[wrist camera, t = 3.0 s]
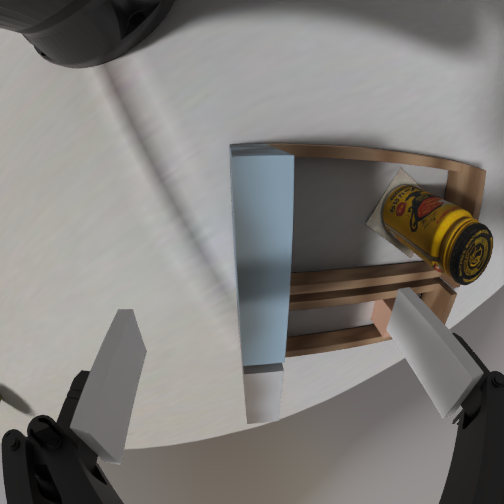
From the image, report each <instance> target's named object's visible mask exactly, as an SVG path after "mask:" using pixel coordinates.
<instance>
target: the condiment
mask: <svg viewBox="0 0 504 504" xmlns="http://www.w3.org/2000/svg"><path fill="white" fill-rule="evenodd" d="M365 225H367V226H368V227H370V228H371V229H372V230H374V231H375V232H377V233H378V234H379V235H381V236H382V237H383V238H385V239H386V240H388V241H389V242H390V243H392V244H393V245H394V246H396V247H397V248H398V249H399V250H401V251H402V252H403V253H405V254H406V255H407V256H409V257H410V258H411V257H412V255H413V253H415V254H416V255H418V256H419V257H420V258H421V259H423V260H424V261H425V262H426V263H427V264H429V265H430V266H431V267H432V268H433V269H435V270H436V271H438V272H440V273H444V274H445V273H446V274H447V275H448V276H449V277H452V278H453V279H454V281H455V282H457V283H459V284H461V285H468V284H470V283H472V282H474V281H475V280H477V279H478V277H479V276H480V275H481V274H482V273H483V272H484V270H485V268H486V267H487V264H488V262H489V260H490V258H491V254H492V249H493V236H492V233H491V232H490V230H489V229H488V227H487V226H485V225H484V224H481V223H479V222H478V221H477V220H476V219H474V218H473V217H472V215H471V214H470V213H469V212H468V211H466V210H465V209H463V208H460V207H459V206H456V205H455V204H453V203H450V202H448V201H446V200H444V199H442V198H440V197H438V196H435V195H433V194H431V193H429V192H426V191H424V190H423V189H422V188H421V187H420V186H419V185H418V184H417V183H416V182H415V181H414V180H413V179H412V178H411V177H410V176H409V175H408V174H407V173H406V172H405V171H404V170H403V169H402V168H400V169H399V171H398V173H397V174H396V176H395V177H394V179H393V181H392V182H391V184H390V185H389V187H388V189H387V190H386V192H385V193H384V195H383V197H382V198H381V200H380V202H379V203H378V205H377V206H376V208H375V210H374V212H373V213H372V215H371V216H370V218H369V219H368V221H367V222H366V224H365Z"/></svg>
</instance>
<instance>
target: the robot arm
mask: <svg viewBox="0 0 504 504" xmlns="http://www.w3.org/2000/svg"><path fill="white" fill-rule="evenodd" d="M173 2H174V0H0V28H3V29H7V30H11V31H15V32H18V33H22V35H23V36H24V37H25V38H26V39H27V40H28V41H29V42H30V43H31V44H33V45H34V48H35V49H36V51H37V52H38V53H39V54H40V55H41V56H42V57H43V58H44V59H45V60H47V61H49V62H51V63H54V64H57V65H61V66H64V67H69V68H86V67H92V66H96V65H99V64H102V63H105V62H107V61H110V60H112V59H114V58H116V57H118V56H120V55H122V54H124V53H125V52H127V51H128V50H130V49H131V48H133V47H134V46H136V45H137V44H138V43H140V42H141V41H142V40H143V39H145V38H146V37H147V36H148V35H149V34H150V33H151V32H152V31H153V30H154V29H155V28H156V27H157V26H158V25H159V24H160V22H161V21H162V20H163V19H164V17H165V16H166V15H167V13H168V12H169V10H170V8H171V6H172V4H173ZM386 330H387V331H388V333H389V334H390V336H391V337H392V339H393V340H394V342H395V343H396V345H397V346H398V348H399V349H400V351H401V352H402V354H403V355H404V357H405V358H406V360H407V361H408V363H409V364H410V366H411V367H412V369H413V371H414V372H415V374H416V375H417V377H418V379H419V380H420V382H421V383H422V385H423V387H424V388H425V390H426V391H427V393H428V395H429V397H430V398H431V400H432V402H433V403H434V405H435V406H436V408H437V410H438V412H439V413H440V415H441V417H442V419H444V418H445V417H447V416H449V415H451V414H453V413H455V411H456V410H457V409H458V408H459V406H460V405H461V406H462V408H463V409H462V411H461V412H460V413H459V414H458V415H457V417H456V418H455V419H454V420H453V423H452V424H455V422H456V421H457V420H458V419H459V422H458V423H457V425H458V431H457V437H456V442H455V447H454V452H453V457H452V461H451V465H450V469H449V473H448V477H447V480H446V483H445V487H444V490H443V493H442V496H441V499H440V502H439V504H504V375H503V374H502V373H500V372H498V371H492V372H490V371H489V370H488V369H487V368H486V366H485V365H484V364H483V363H482V361H481V360H480V359H479V358H478V356H477V355H476V354H475V353H474V352H473V350H472V349H471V348H470V347H469V346H468V344H467V343H466V342H465V341H464V340H463V339H462V338H461V337H460V336H458V335H457V334H455V333H451V332H450V331H449V330H448V328H447V327H446V326H445V325H444V324H443V323H442V322H441V320H440V319H439V318H438V317H437V316H436V315H435V314H434V313H433V312H432V311H431V309H430V308H429V307H428V306H427V305H426V304H425V303H424V302H423V301H422V300H421V299H420V298H419V297H418V296H417V295H416V293H415V292H414V291H413V290H412V289H411V288H410V287H408V288H401V289H398V292H397V296H396V300H395V303H394V307H393V310H392V313H391V316H390V320H389V323H388V326H387V329H386ZM146 352H147V351H146V348H145V345H144V342H143V340H142V337H141V334H140V331H139V328H138V325H137V321H136V318H135V315H134V312H133V309H118V311H117V313H116V315H115V317H114V320H113V322H112V324H111V326H110V328H109V330H108V332H107V334H106V337H105V339H104V341H103V343H102V345H101V348H100V350H99V352H98V355H97V357H96V359H95V362H94V364H93V366H92V369H91V371H83V370H82V371H81V372H80V373H79V374H78V375H77V376H76V377H75V378H74V380H73V382H72V384H71V387H70V390H69V392H68V394H67V398H66V399H65V401H64V404H63V406H62V409H61V412H60V414H59V417H58V420H57V422H55V421H54V420H53V419H52V418H51V417H49V416H46V415H40V416H36V417H35V418H33V419H32V420H31V422H30V423H29V425H28V428H27V435H28V437H25V436H24V435H23V434H22V433H21V432H20V431H18V430H16V429H12V430H9V431H7V432H6V433H5V434H4V436H3V438H2V463H3V476H4V485H5V493H6V499H7V504H124V503H123V502H122V501H121V499H120V498H119V496H118V495H117V493H116V492H115V490H114V489H113V487H112V486H111V484H110V483H109V481H108V479H107V478H106V476H105V474H104V473H103V471H102V470H101V468H100V466H99V465H98V464H97V457H98V456H99V457H100V458H101V459H102V460H103V461H105V462H109V463H114V464H120V465H121V463H122V458H123V452H124V447H125V442H126V436H127V431H128V427H129V422H130V417H131V413H132V408H133V404H134V399H135V395H136V391H137V387H138V383H139V379H140V375H141V371H142V367H143V363H144V359H145V356H146Z"/></svg>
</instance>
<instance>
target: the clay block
mask: <svg viewBox="0 0 504 504" xmlns="http://www.w3.org/2000/svg"><path fill="white" fill-rule="evenodd" d="M395 300H396V297H395V298H389V299H382V300H376V301H375V305H374V308H373V312H372V316H371V320H372V321H373V323H374V324H375V326H376V327H377V329H378V331H379V332H380V334H381V335H382V337H383V338H386V337H390V334H389V333H388V331H387V330H386V329H387V326H388V323H389V320H390V316H391V313H392V310H393V307H394V303H395Z"/></svg>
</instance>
